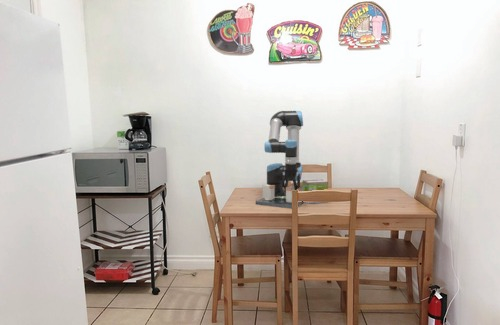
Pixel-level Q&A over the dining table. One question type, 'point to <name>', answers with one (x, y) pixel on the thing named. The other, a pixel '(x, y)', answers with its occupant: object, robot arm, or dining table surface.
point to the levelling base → (276, 202)
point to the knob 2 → (289, 194)
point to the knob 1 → (268, 192)
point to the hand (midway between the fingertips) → (290, 198)
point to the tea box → (314, 186)
